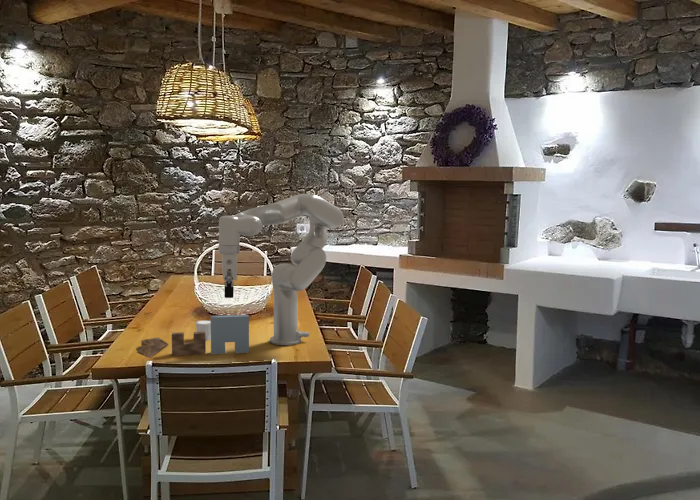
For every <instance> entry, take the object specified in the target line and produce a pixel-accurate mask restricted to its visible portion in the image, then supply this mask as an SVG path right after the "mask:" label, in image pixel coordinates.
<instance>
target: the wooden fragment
mask: <svg viewBox="0 0 700 500" xmlns="http://www.w3.org/2000/svg"><path fill="white" fill-rule="evenodd" d="M167 345H169V344H168V343H167V342H166V341H165V340H163V339H162V338H160V337H153V338H147V339H143V340H141V346H138V347H136V349H137V351H136V354H137V353H138V354H140V355H142V356H145V357H146V358H152V357H154V356H155V355H156V354H157V353H159V352H160V351H161V350H162V349H163V348H165V347H167Z"/></svg>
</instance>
